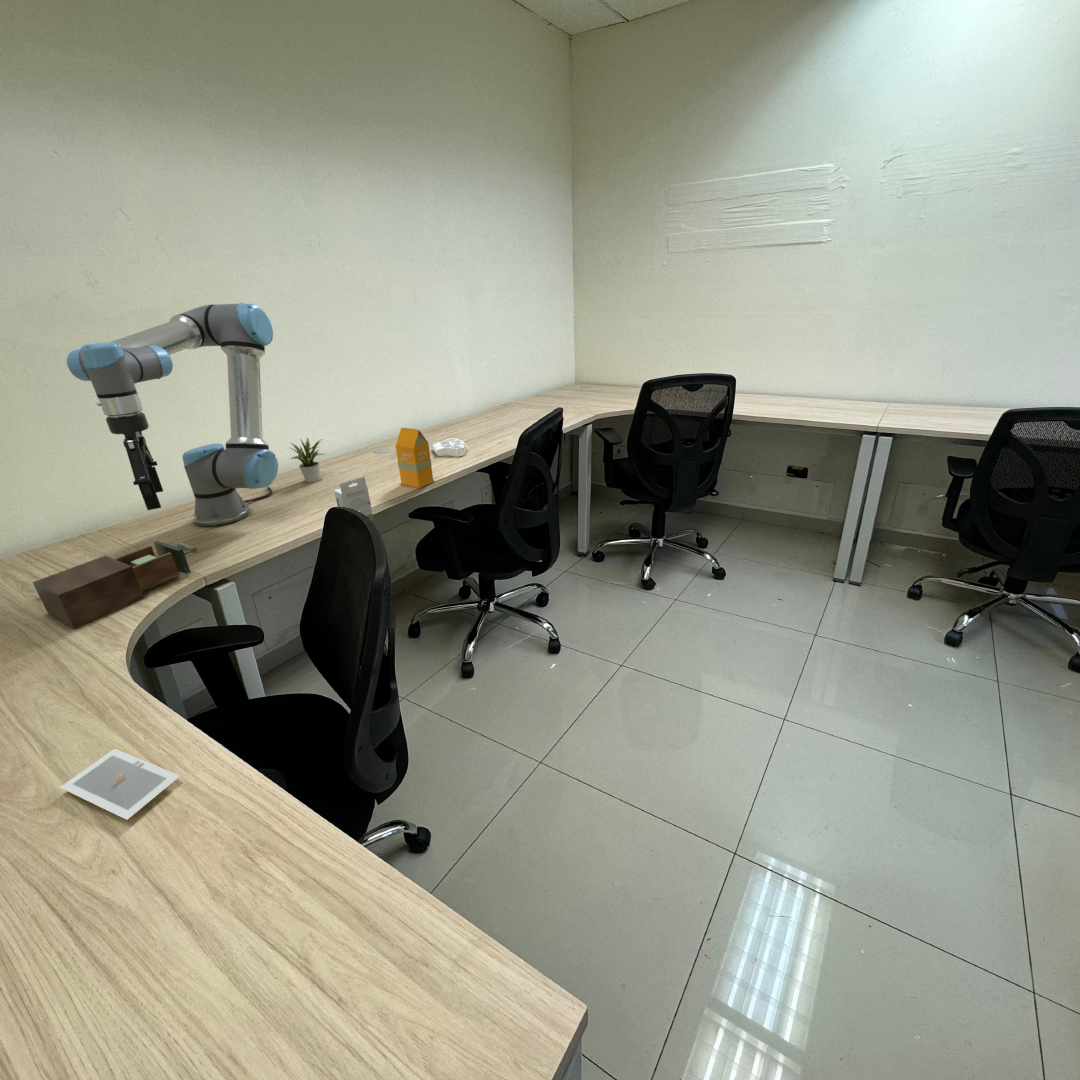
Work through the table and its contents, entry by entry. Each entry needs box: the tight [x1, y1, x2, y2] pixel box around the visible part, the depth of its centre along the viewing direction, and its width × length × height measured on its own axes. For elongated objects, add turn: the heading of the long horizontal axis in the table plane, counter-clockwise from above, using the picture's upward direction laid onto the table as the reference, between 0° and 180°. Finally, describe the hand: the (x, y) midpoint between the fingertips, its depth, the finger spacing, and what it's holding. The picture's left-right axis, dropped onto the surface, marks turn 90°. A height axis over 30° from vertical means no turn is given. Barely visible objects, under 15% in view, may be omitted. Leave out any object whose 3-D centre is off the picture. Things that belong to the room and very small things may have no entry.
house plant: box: [288, 437, 326, 484], centre depth 204 cm, size 14×14×16 cm
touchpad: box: [59, 748, 181, 821], centre depth 81 cm, size 8×15×2 cm, turn 67°
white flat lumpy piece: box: [431, 437, 470, 458], centre depth 236 cm, size 3×18×15 cm
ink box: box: [333, 476, 375, 523], centre depth 165 cm, size 9×5×15 cm, turn 134°
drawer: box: [114, 540, 198, 592], centre depth 139 cm, size 18×11×7 cm, turn 150°
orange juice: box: [395, 427, 434, 489], centre depth 197 cm, size 8×9×20 cm
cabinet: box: [32, 555, 145, 630], centre depth 127 cm, size 15×13×9 cm
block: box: [131, 555, 158, 567], centre depth 137 cm, size 4×4×4 cm
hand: (155, 500), depth 136 cm, fingers open, 13 cm apart
